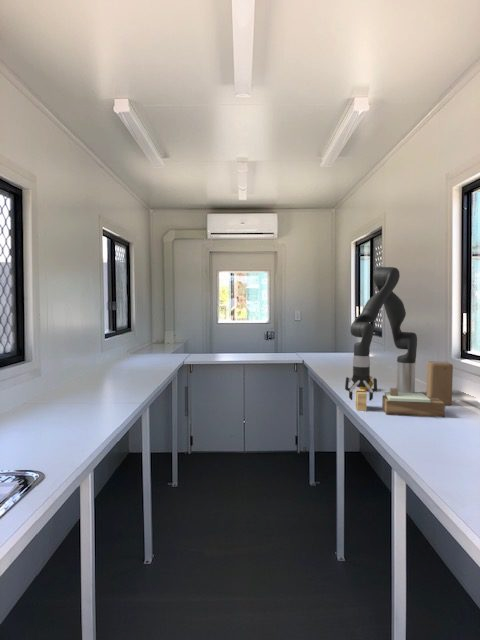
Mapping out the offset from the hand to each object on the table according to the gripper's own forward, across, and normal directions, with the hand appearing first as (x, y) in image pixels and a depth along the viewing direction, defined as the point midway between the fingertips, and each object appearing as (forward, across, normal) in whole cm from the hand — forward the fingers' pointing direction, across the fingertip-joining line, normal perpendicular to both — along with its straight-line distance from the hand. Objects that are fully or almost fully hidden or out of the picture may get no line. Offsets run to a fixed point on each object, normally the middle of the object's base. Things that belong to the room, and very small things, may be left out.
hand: (360, 399), depth 208 cm
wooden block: (+4, -39, -18) cm, 43 cm away
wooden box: (+4, -22, +4) cm, 23 cm away
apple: (+4, -7, -43) cm, 44 cm away
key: (+4, 0, 0) cm, 4 cm away
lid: (-2, -19, +4) cm, 20 cm away
